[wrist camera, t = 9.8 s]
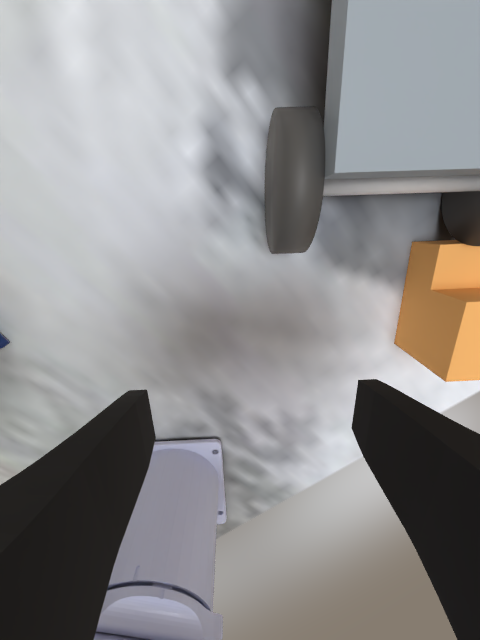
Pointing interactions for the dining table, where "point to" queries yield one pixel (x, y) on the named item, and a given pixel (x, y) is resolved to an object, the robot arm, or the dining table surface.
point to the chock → (442, 309)
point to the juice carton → (3, 341)
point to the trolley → (383, 119)
